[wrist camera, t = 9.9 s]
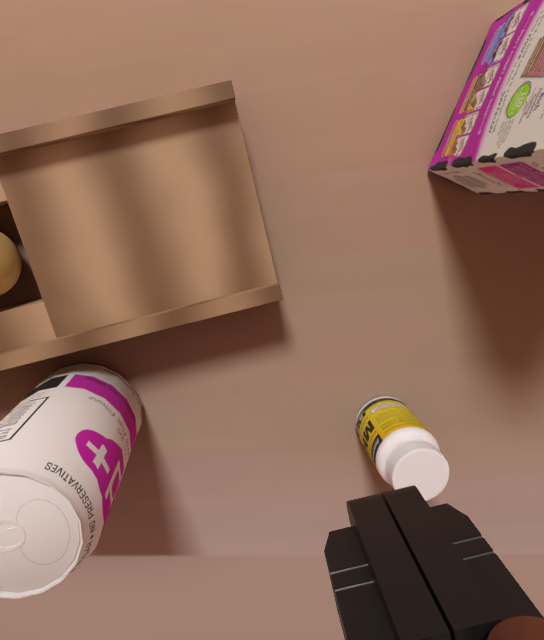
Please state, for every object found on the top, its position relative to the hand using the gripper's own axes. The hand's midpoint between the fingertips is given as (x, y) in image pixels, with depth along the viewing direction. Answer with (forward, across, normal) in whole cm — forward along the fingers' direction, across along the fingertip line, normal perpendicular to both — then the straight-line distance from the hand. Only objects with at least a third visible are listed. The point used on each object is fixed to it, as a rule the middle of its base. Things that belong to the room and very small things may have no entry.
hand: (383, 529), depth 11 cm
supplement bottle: (+28, -6, +12) cm, 31 cm away
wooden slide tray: (+28, +13, -7) cm, 31 cm away
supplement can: (+28, +16, +6) cm, 33 cm away
